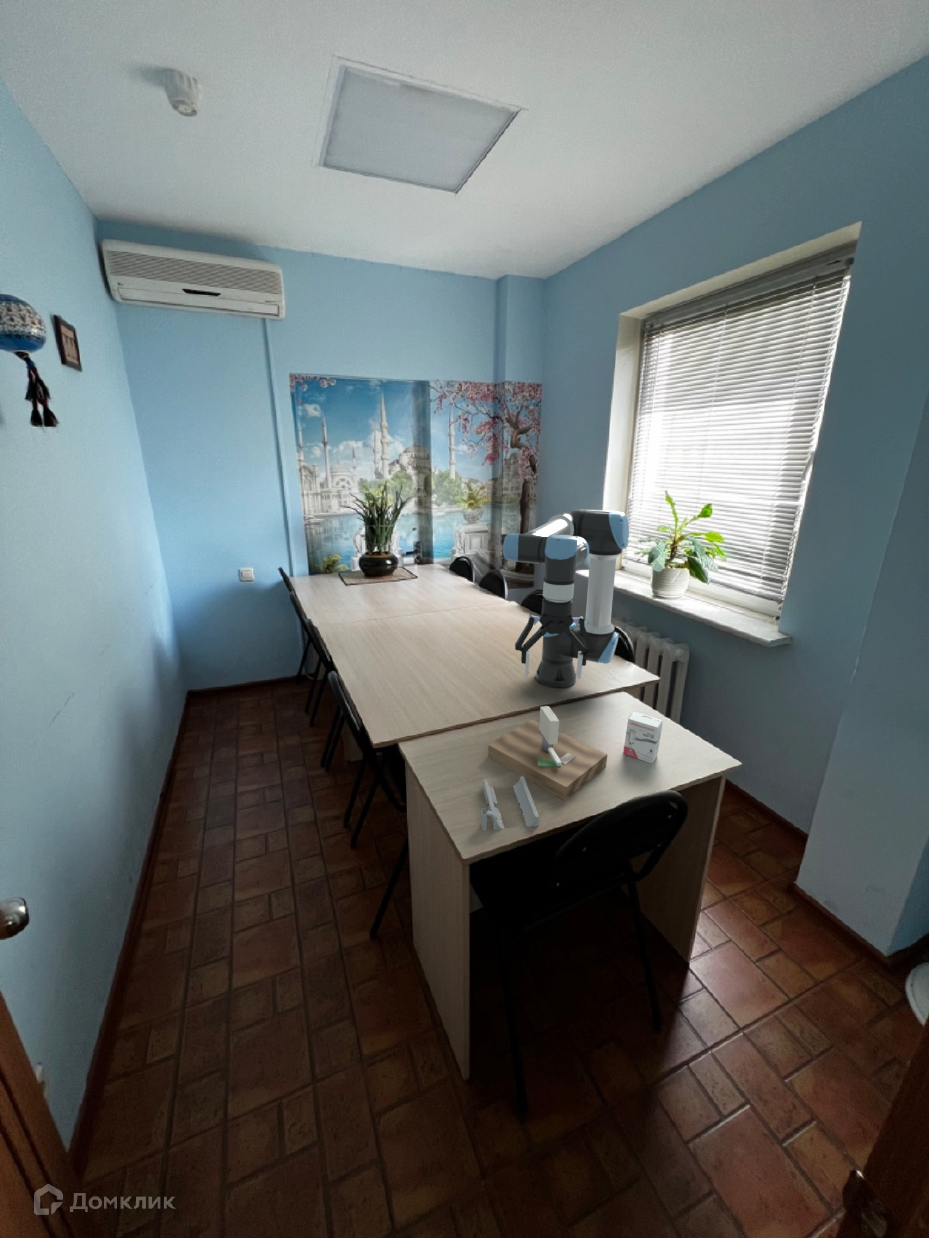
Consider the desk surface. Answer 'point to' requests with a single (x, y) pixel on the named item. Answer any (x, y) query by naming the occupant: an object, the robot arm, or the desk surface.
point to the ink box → (643, 737)
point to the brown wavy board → (548, 759)
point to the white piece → (549, 731)
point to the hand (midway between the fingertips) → (552, 675)
